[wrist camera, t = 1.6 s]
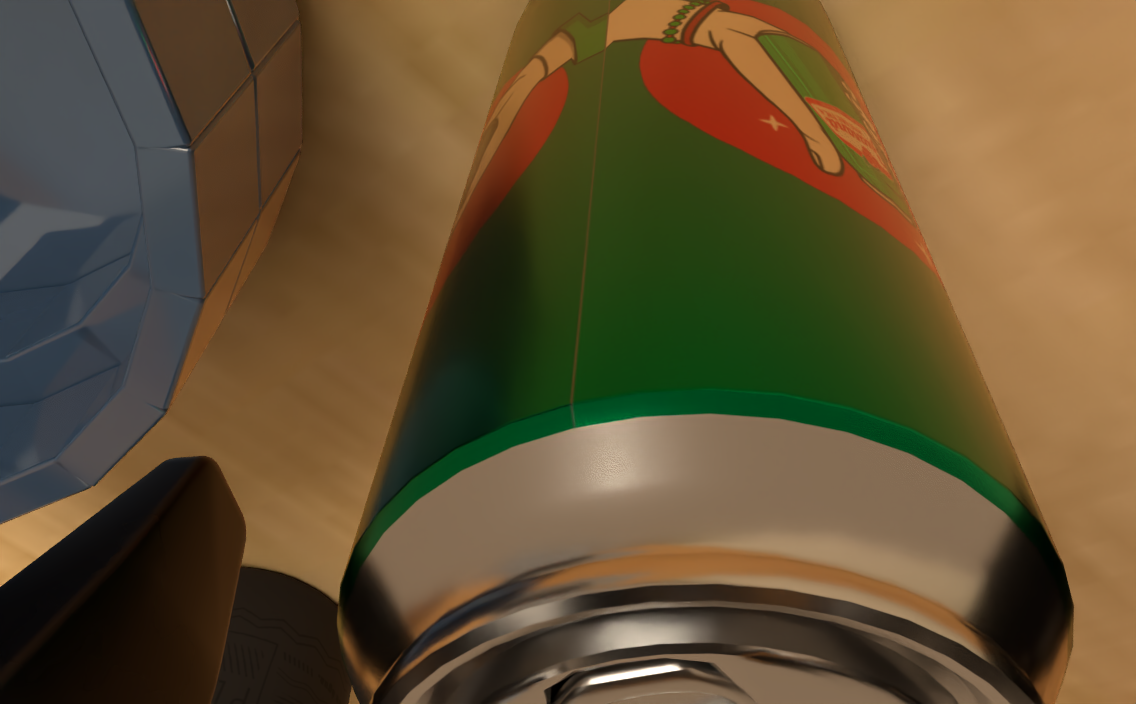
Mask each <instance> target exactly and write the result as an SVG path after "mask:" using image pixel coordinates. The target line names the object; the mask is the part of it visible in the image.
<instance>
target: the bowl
mask: <svg viewBox="0 0 1136 704" xmlns="http://www.w3.org/2000/svg"><path fill="white" fill-rule="evenodd" d="M298 18H299V10H298V7H297V4H296V1H295V0H0V524H2V523H5V522H7V521H10V520H12V519H15V518H17V517H20V516H22V515H25V514H27V513H30V512H32V511H35V510H37V509H39V508H42V507H44V506H47V505H49V504H52V503H54V502H57V501H59V500H62V499H64V498H67V497H69V496H72V495H74V494H77V493H79V492H82V491H84V490H87V489H89V488H91V487H92V486H95V485H97V484H98V482H99V481H100V480H101V479H102V478H103V477H104V476H105V475H106V474H107V473H108V472H109V471H110V470H111V469H112V468H113V467H114V466H115V465H116V464H117V463H118V462H119V461H120V460H121V459H122V458H123V457H124V456H125V455H126V454H127V453H128V452H129V451H130V450H131V449H132V448H133V447H134V446H135V445H136V444H137V443H138V442H139V441H140V440H141V439H142V438H143V437H144V436H145V435H146V434H147V433H148V432H149V431H150V430H151V429H152V428H153V427H154V426H155V425H156V424H157V423H158V422H159V421H160V420H161V419H162V418H163V417H164V416H165V415H166V414H167V412H168V411H169V409H170V407H171V406H172V404H173V402H174V401H175V399H176V397H177V396H178V394H179V392H180V391H181V389H182V387H183V385H184V384H185V382H186V380H187V379H188V377H189V375H190V374H191V372H192V370H193V369H194V367H195V365H196V364H197V362H198V360H199V359H200V357H201V355H202V354H203V352H204V350H205V349H206V347H207V345H208V343H209V342H210V340H211V338H212V337H213V335H214V333H215V332H216V330H217V328H218V327H219V325H220V323H221V321H222V319H223V317H224V316H225V314H226V312H227V311H228V309H229V308H230V306H231V304H232V303H233V301H234V299H235V298H236V296H237V294H238V293H239V291H240V289H241V288H242V286H243V284H244V282H245V281H246V279H247V277H248V276H249V274H250V272H251V271H252V269H253V267H254V266H255V264H256V262H257V261H258V259H259V257H260V256H261V254H262V252H263V251H264V249H265V247H266V246H267V244H268V241H269V239H270V236H271V233H272V230H273V228H274V225H275V222H276V219H277V217H278V214H279V211H280V209H281V206H282V203H283V200H284V198H285V195H286V192H287V189H288V187H289V184H290V181H291V179H292V176H293V173H294V170H295V168H296V165H297V162H298V159H299V157H300V154H301V148H300V147H301V145H302V143H303V140H302V48H301V23H300V20H298Z"/></svg>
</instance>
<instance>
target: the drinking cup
mask: <svg viewBox="0 0 1136 704" xmlns="http://www.w3.org/2000/svg"><path fill="white" fill-rule="evenodd" d="M337 613H338V607H337V606H336V605H335V604H334V603H333V602H332V601H331V600H330V599H328V598H327V597H326V596H324V595H323V594H321V593H320V592H318V591H317V590H315V589H313V588H312V587H310V586H308V585H306V584H304V583H302V582H300V581H298V580H295V579H293V578H290V577H287V576H284V575H281V574H278V573H274V572H271V571H266V570H261V569H255V568H245V567H240V572H239V577H238V582H237V587H236V592H235V597H234V602H233V607H232V613H231V618H230V623H229V628H228V633H227V638H226V643H225V648H224V653H223V658H222V663H221V667H220V671H219V675H218V680H217V684H216V687H215V691H214V694H213V698H212V701H211V704H349V698H350V692H351V686H352V684H351V681H350V679H349V676H348V674H347V671H346V669H345V666H344V663H343V661H342V657H341V650H340V643H339V636H338V629H337Z"/></svg>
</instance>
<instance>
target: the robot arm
mask: <svg viewBox="0 0 1136 704" xmlns="http://www.w3.org/2000/svg"><path fill="white" fill-rule="evenodd" d="M245 541H246V525H245V520H244V517H243V514H242V512H241V510H240V508H239V506H238V504H237V502H236V500H235V498H234V496H233V494H232V491H231V489H230V487H229V485H228V483H227V481H226V479H225V477H224V475H223V473H222V471H221V469H220V467H219V466H218V464H217V463H216V462H215V461H214V460H213V459H212V458H210V457H207V456H193V457H181V458H173V459H169V460H166V461H164V462H163V463H161V464H160V465H159V466H157V467H156V468H155V469H154V470H152V471H151V472H150V473H148V474H147V475H146V476H144V477H143V478H142V479H141V480H139V481H138V482H137V483H135V484H134V485H133V486H131V487H130V488H129V489H127V490H126V491H125V492H124V493H122V494H121V495H120V496H118V497H117V498H116V499H114V500H113V501H112V502H111V503H109V504H108V505H107V506H105V507H104V508H103V509H101V510H100V511H99V512H98V513H96V514H95V515H94V516H92V517H91V518H90V519H88V520H87V521H86V522H84V523H83V524H82V525H81V526H79V527H78V528H77V529H75V530H74V531H73V532H71V533H70V534H69V535H68V536H66V537H65V538H64V539H62V540H61V541H60V542H58V543H57V544H56V545H55V546H53V547H52V548H51V549H49V550H48V551H47V552H45V553H44V554H43V555H41V556H40V557H39V558H38V559H36V560H35V561H34V562H32V563H31V564H30V565H28V566H27V567H26V568H25V569H23V570H22V571H21V572H19V573H18V574H17V575H15V576H14V577H13V578H11V579H10V580H9V581H8V582H6V583H5V584H4V585H2V586H1V587H0V704H211V701H212V698H213V694H214V691H215V687H216V684H217V680H218V675H219V671H220V667H221V663H222V658H223V653H224V648H225V643H226V638H227V633H228V628H229V623H230V618H231V613H232V607H233V602H234V597H235V592H236V587H237V582H238V577H239V572H240V567H241V562H242V557H243V552H244V547H245Z"/></svg>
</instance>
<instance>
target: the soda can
mask: <svg viewBox="0 0 1136 704" xmlns="http://www.w3.org/2000/svg"><path fill="white" fill-rule="evenodd" d="M1073 623H1074V605H1073V601H1072V597H1071V593H1070V589H1069V585H1068V581H1067V577H1066V573H1065V569H1064V565H1063V562H1062V560H1061V558H1060V555H1059V553H1058V551H1057V548H1056V546H1055V544H1054V541H1053V539H1052V537H1051V534H1050V532H1049V530H1048V527H1047V525H1046V523H1045V520H1044V518H1043V516H1042V513H1041V511H1040V509H1039V506H1038V504H1037V502H1036V499H1035V497H1034V495H1033V492H1032V490H1031V488H1030V485H1029V483H1028V481H1027V478H1026V476H1025V474H1024V471H1023V469H1022V467H1021V464H1020V462H1019V460H1018V457H1017V455H1016V453H1015V451H1014V448H1013V446H1012V444H1011V441H1010V439H1009V437H1008V434H1007V432H1006V430H1005V427H1004V425H1003V423H1002V420H1001V418H1000V416H999V413H998V411H997V409H996V406H995V404H994V402H993V399H992V397H991V395H990V392H989V390H988V388H987V385H986V383H985V381H984V378H983V376H982V374H981V371H980V369H979V367H978V364H977V362H976V360H975V357H974V355H973V353H972V350H971V348H970V346H969V343H968V341H967V339H966V336H965V334H964V332H963V329H962V327H961V325H960V322H959V320H958V318H957V316H956V313H955V311H954V309H953V306H952V304H951V302H950V299H949V297H948V295H947V292H946V290H945V288H944V285H943V283H942V281H941V278H940V276H939V274H938V271H937V269H936V267H935V264H934V262H933V260H932V257H931V255H930V253H929V250H928V248H927V246H926V243H925V241H924V239H923V236H922V234H921V232H920V229H919V227H918V225H917V222H916V220H915V218H914V215H913V213H912V211H911V208H910V206H909V204H908V201H907V199H906V197H905V194H904V192H903V190H902V187H901V185H900V183H899V181H898V178H897V176H896V174H895V171H894V169H893V167H892V164H891V162H890V160H889V157H888V155H887V153H886V150H885V148H884V146H883V143H882V141H881V139H880V136H879V134H878V132H877V129H876V127H875V125H874V122H873V120H872V118H871V115H870V113H869V111H868V108H867V106H866V104H865V101H864V99H863V97H862V94H861V92H860V90H859V87H858V85H857V83H856V80H855V78H854V76H853V73H852V71H851V69H850V66H849V64H848V62H847V59H846V57H845V55H844V53H843V50H842V48H841V46H840V43H839V41H838V39H837V36H836V34H835V32H834V29H833V27H832V25H831V22H830V20H829V18H828V16H827V14H826V12H825V10H824V8H823V6H822V4H821V2H820V0H530V1H529V3H528V5H527V7H526V9H525V10H524V12H523V14H522V16H521V18H520V20H519V21H518V23H517V26H516V29H515V31H514V34H513V37H512V40H511V43H510V46H509V49H508V52H507V55H506V58H505V61H504V65H503V68H502V71H501V74H500V77H499V81H498V84H497V87H496V90H495V93H494V96H493V100H492V103H491V106H490V109H489V112H488V116H487V119H486V122H485V125H484V128H483V132H482V135H481V138H480V141H479V144H478V147H477V151H476V154H475V157H474V160H473V163H472V167H471V170H470V173H469V176H468V179H467V183H466V186H465V189H464V192H463V195H462V198H461V202H460V205H459V208H458V211H457V214H456V218H455V221H454V224H453V227H452V230H451V234H450V237H449V240H448V243H447V246H446V249H445V253H444V256H443V259H442V262H441V265H440V269H439V272H438V275H437V278H436V281H435V285H434V288H433V291H432V294H431V297H430V300H429V304H428V307H427V310H426V313H425V316H424V320H423V323H422V326H421V329H420V332H419V336H418V339H417V342H416V345H415V348H414V351H413V355H412V358H411V361H410V364H409V367H408V371H407V374H406V377H405V380H404V383H403V387H402V390H401V393H400V396H399V399H398V402H397V406H396V409H395V412H394V415H393V418H392V422H391V425H390V428H389V431H388V434H387V438H386V441H385V444H384V447H383V450H382V453H381V457H380V460H379V463H378V466H377V469H376V473H375V476H374V479H373V482H372V485H371V488H370V492H369V495H368V498H367V501H366V504H365V508H364V511H363V514H362V517H361V520H360V524H359V527H358V530H357V533H356V536H355V539H354V543H353V546H352V549H351V552H350V555H349V559H348V562H347V565H346V568H345V571H344V575H343V578H342V581H341V585H340V594H339V604H338V613H337V629H338V636H339V643H340V650H341V657H342V661H343V663H344V666H345V669H346V671H347V674H348V676H349V679H350V681H351V684H352V687H353V689H354V692H355V694H356V696H357V699H358V701H359V703H360V704H1055V702H1056V699H1057V696H1058V694H1059V691H1060V689H1061V686H1062V683H1063V680H1064V676H1065V673H1066V669H1067V666H1068V662H1069V658H1070V655H1071V651H1072V648H1073Z"/></svg>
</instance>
